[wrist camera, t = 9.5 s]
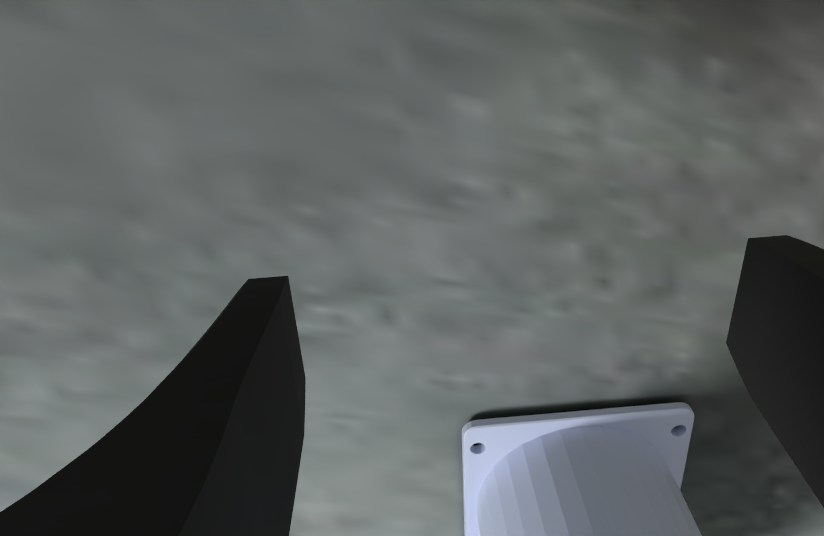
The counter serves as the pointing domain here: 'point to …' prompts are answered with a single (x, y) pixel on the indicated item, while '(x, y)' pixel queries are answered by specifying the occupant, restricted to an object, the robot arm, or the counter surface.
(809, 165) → the counter surface
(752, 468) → the counter surface
